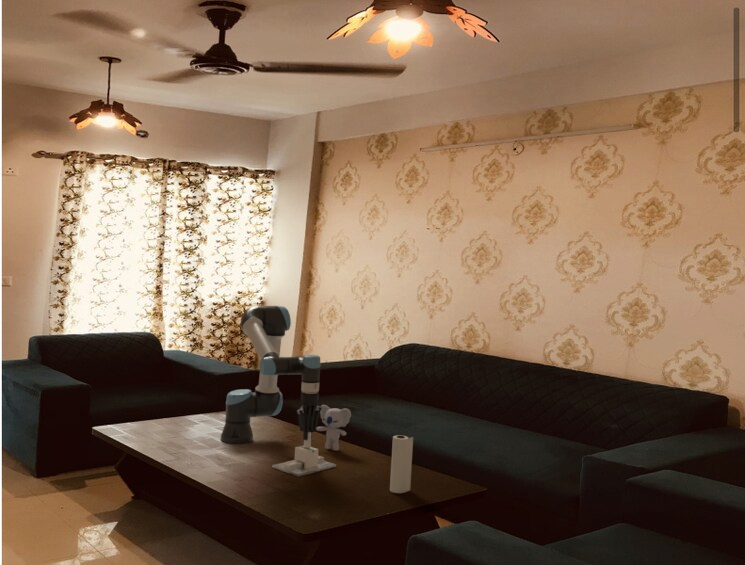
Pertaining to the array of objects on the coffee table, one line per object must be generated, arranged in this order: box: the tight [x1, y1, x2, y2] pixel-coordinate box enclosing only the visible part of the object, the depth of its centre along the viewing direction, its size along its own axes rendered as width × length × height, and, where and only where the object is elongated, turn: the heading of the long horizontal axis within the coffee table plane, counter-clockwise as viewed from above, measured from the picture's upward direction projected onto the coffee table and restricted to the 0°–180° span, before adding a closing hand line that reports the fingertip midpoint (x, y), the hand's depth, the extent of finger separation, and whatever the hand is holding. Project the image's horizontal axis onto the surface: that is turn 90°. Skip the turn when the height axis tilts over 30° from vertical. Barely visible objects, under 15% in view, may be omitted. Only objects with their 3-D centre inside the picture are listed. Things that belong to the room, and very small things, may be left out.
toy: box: [316, 404, 352, 452], centre depth 335 cm, size 17×10×20 cm, turn 62°
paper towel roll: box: [389, 434, 414, 494], centre depth 280 cm, size 7×6×21 cm
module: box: [293, 445, 319, 468], centre depth 306 cm, size 8×6×7 cm
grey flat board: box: [271, 455, 337, 477], centre depth 305 cm, size 16×22×3 cm
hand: (307, 447), depth 306 cm, fingers closed
